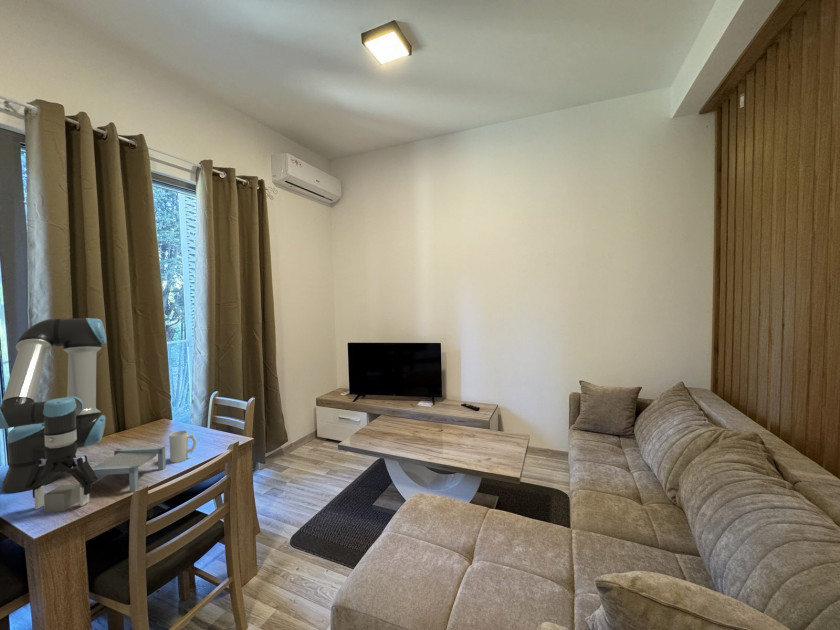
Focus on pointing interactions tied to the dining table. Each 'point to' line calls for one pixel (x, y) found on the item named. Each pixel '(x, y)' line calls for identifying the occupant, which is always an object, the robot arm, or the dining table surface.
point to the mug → (180, 445)
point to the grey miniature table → (131, 470)
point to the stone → (62, 498)
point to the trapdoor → (127, 459)
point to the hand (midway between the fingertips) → (62, 505)
